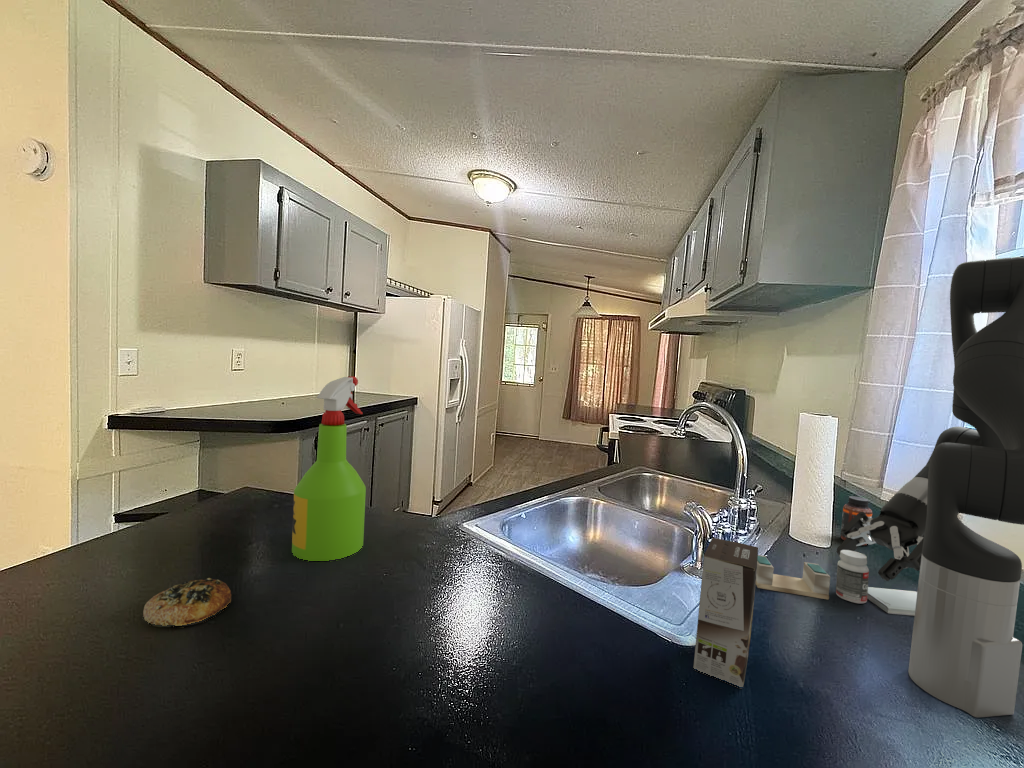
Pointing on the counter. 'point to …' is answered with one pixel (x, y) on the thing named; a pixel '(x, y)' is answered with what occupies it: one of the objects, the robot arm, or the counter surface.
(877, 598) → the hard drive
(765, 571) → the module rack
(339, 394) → the spray bottle
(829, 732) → the counter surface
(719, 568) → the coffee box
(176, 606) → the bread roll
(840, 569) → the pill bottle
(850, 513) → the supplement bottle
